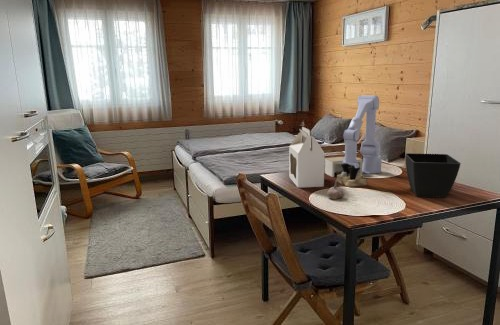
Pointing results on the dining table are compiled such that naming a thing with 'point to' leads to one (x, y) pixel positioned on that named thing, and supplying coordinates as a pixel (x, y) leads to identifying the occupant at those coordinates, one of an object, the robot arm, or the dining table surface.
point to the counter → (338, 165)
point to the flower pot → (431, 174)
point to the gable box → (306, 161)
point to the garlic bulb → (335, 192)
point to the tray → (345, 180)
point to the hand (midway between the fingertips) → (349, 178)
